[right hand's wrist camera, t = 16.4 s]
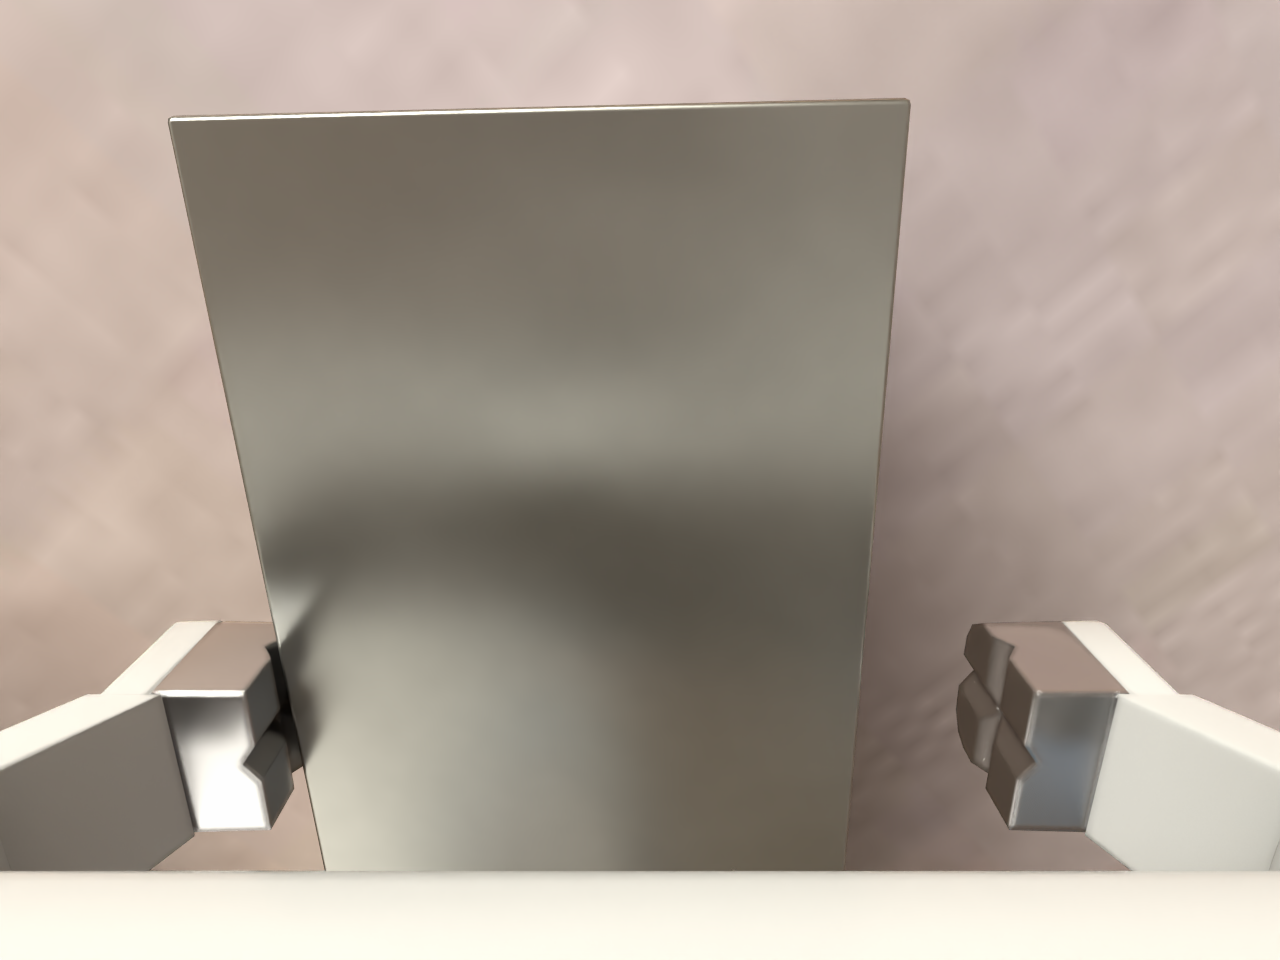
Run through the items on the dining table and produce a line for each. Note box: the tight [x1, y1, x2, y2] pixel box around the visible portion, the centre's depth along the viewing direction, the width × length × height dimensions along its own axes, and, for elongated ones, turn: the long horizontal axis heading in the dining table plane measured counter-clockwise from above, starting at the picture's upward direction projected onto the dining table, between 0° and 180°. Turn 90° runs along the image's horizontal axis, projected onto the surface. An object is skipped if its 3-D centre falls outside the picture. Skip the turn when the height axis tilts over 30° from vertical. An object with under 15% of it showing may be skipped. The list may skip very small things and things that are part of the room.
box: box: [168, 98, 911, 871], centre depth 17 cm, size 25×6×12 cm, turn 1°
